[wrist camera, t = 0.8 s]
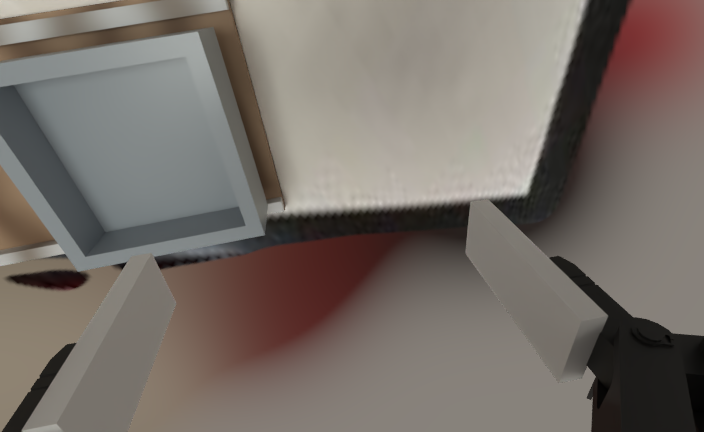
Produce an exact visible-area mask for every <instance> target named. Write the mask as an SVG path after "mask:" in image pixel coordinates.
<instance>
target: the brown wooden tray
mask: <svg viewBox="0 0 704 432" xmlns="http://www.w3.org/2000/svg"><path fill="white" fill-rule="evenodd" d="M209 27H214V30H215V34H216V37H217V40H218V43H219V47H220V50H221V53H222V56H223V60H224V63H225V66H226V70H227V73H228V76H229V79H230V83H231V86H232V89H233V92H234V96H235V99H236V102H237V106H238V109H239V112H240V115H241V119H242V122H243V125H244V128H245V132H246V135H247V138H248V142H249V145H250V148H251V151H252V155H253V158H254V161H255V164H256V168H257V171H258V174H259V178H260V181H261V184H262V187H263V191H264V194H265V197H266V201H267V204H268V210H267V215H268V214H273V213H279V212H284V210H285V203H284V199H283V195H282V192H281V188H280V184H279V181H278V177H277V174H276V170H275V166H274V163H273V159H272V155H271V152H270V148H269V144H268V141H267V137H266V134H265V130H264V126H263V123H262V119H261V115H260V112H259V108H258V104H257V101H256V97H255V93H254V90H253V86H252V83H251V79H250V75H249V72H248V68H247V64H246V61H245V57H244V53H243V50H242V46H241V43H240V39H239V35H238V32H237V28H236V24H235V21H234V17H233V13H232V10H231V6H230V2H229V0H122V1H116V2H109V3H103V4H96V5H90V6H83V7H77V8H70V9H64V10H57V11H51V12H44V13H38V14H31V15H25V16H18V17H12V18H5V19H0V61H3V60H9V59H16V58H22V57H28V56H34V55H41V54H47V53H53V52H59V51H66V50H72V49H78V48H84V47H91V46H97V45H103V44H109V43H116V42H122V41H128V40H134V39H140V38H147V37H153V36H159V35H165V34H172V33H178V32H184V31H190V30H197V29H203V28H209ZM60 254H65V253H64V251H63V250H62V249H61V247H60V246H59V245H58V243H57V242H56V240H55V239H54V238H53V236H52V235H51V234H50V232H49V231H48V229H47V228H46V227H45V225H44V224H43V223H42V221H41V220H40V219H39V217H38V216H37V214H36V213H35V212H34V210H33V209H32V208H31V206H30V205H29V203H28V202H27V201H26V199H25V198H24V197H23V195H22V194H21V193H20V191H19V190H18V188H17V187H16V186H15V184H14V183H13V182H12V180H11V179H10V177H9V176H8V175H7V173H6V172H5V171H4V169H3V168H2V167H1V165H0V266H3V265H8V264H13V263H18V262H24V261H28V260H34V259H39V258H44V257H50V256H55V255H60Z"/></svg>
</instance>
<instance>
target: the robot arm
mask: <svg viewBox="0 0 704 432" xmlns="http://www.w3.org/2000/svg"><path fill="white" fill-rule="evenodd" d="M465 253H466V255H467V256H468V258H469V259H470V260H471V262H472V263H473V264H474V266H475V267H476V269H477V270H478V271H479V273H480V274H481V276H482V277H483V278H484V280H485V281H486V283H487V284H488V285H489V287H490V288H491V290H492V291H493V292H494V294H495V295H496V296H497V298H498V299H499V301H500V302H501V304H502V305H503V306H504V308H505V309H506V311H507V312H508V313H509V315H510V316H511V317H512V319H513V320H514V322H515V323H516V324H517V326H518V327H519V329H520V330H521V331H522V333H523V334H524V335H525V337H526V339H527V340H528V341H529V343H530V344H531V346H532V347H533V348H534V350H535V351H536V352H537V354H538V355H539V357H540V358H541V359H542V361H543V362H544V364H545V365H546V366H547V368H548V369H549V370H550V372H551V373H552V375H553V376H554V378H555V379H556V380H557V382H558V383H563V382H567V381H572V380H577V379H581V378H582V377H583V375H584V372H585V370H586V368H587V366H588V367H589V369H590V370H591V371H592V372H593V373H594V374H595V376H596V378H595V380H594V382H593V384H592V387H591V389H590V391H589V393H588V396H587V399H590V400H591V399H592V397H593V405H592V408H593V409H592V430H591V432H704V336H696V335H684V334H673V333H671V332H670V331H669V330H668V329H666V328H664V327H663V326H661V325H659V324H658V323H655V322H652V321H650V320H647V319H642V318H634V317H632V316H631V315H630V314H628V312H627V311H625V310H624V309H623V308H622V307H621V306H620V305H619V304H618V303H617V302H615V301H614V300H613V299H612V298H611V297H610V296H609V295H608V294H607V293H606V292H604V291H603V290H602V289H601V288H600V287H599V286H598V285H595V283H594V282H593V281H592V280H591V279H590V278H589V277H586V275H585V274H584V273H583V272H582V271H581V270H580V269H579V268H578V267H577V266H576V265H574V264H573V263H571V262H569V261H567V260H565V259H563V258H562V257H559V256H556V257H550V258H548V257H547V256H546V255H545V254H544V253H543V252H542V251H541V250H540V249H539V248H538V247H537V246H536V245H534V243H532V241H531V240H530V239H528V238H527V237H526V236H525V235H524V234H523V233H522V232H521V231H520V230H519V229H518V228H517V227H516V226H515V225H514V224H513V223H512V222H511V221H510V220H509V219H508V218H507V217H506V216H505V215H504V214H503V213H502V212H501V211H500V210H499V209H497V208H496V207H495V206H494V205H493V204H492V203H491V202H490V201H489V200H488V199H485V200H479V201H473V202H471V203H470V213H469V222H468V232H467V243H466V252H465ZM175 305H176V302H175V300H174V298H173V296H172V294H171V292H170V290H169V288H168V285H167V283H166V281H165V279H164V277H163V275H162V273H161V271H160V269H159V267H158V265H157V263H156V261H155V259H154V257H153V255H152V253H149V254H142V255H136V256H131V258H130V259H129V261H128V262H127V264H126V265H125V267H124V269H123V270H122V272H121V273H120V275H119V277H118V278H117V280H116V281H115V283H114V285H113V286H112V288H111V289H110V291H109V292H108V294H107V296H106V297H105V299H104V300H103V302H102V304H101V305H100V307H99V308H98V310H97V311H96V313H95V315H94V316H93V318H92V319H91V321H90V323H89V324H88V326H87V327H86V329H85V331H84V332H83V334H82V335H81V337H80V338H79V340H78V342H77V343H74V344H67V345H66V346H65V347H64V348H62V349H61V350H60V351H59V352H58V353H57V354H56V355H55V356H54V357H53V358H52V359H51V360H50V361H49V363H48V364H47V366H46V367H45V369H44V370H43V371H42V373H41V375H40V378H39V379H37V381H36V382H35V383H34V385H33V386H32V388H31V392H28V394H27V395H26V397H25V398H24V400H23V401H22V403H21V404H20V406H19V407H18V409H17V410H16V412H15V413H14V415H13V416H12V418H11V419H10V420H9V422H8V423H7V425H6V426H5V428H4V429H3V431H2V432H128V429H129V427H130V424H131V421H132V419H133V416H134V414H135V411H136V408H137V406H138V403H139V400H140V398H141V395H142V392H143V390H144V387H145V384H146V382H147V379H148V376H149V374H150V371H151V369H152V366H153V363H154V361H155V358H156V356H157V353H158V350H159V347H160V345H161V342H162V340H163V337H164V334H165V332H166V329H167V326H168V324H169V321H170V319H171V316H172V313H173V311H174V308H175Z"/></svg>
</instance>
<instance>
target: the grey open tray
mask: <svg viewBox="0 0 704 432" xmlns="http://www.w3.org/2000/svg"><path fill="white" fill-rule="evenodd" d="M0 165H1V167H2V168H3V169H4V171H5V172H6V173H7V175H8V176H9V177H10V179H11V180H12V182H13V183H14V184H15V186H16V187H17V188H18V190H19V191H20V193H21V194H22V195H23V197H24V198H25V199H26V201H27V202H28V203H29V205H30V206H31V208H32V209H33V210H34V212H35V213H36V214H37V216H38V217H39V219H40V220H41V221H42V223H43V224H44V225H45V227H46V228H47V229H48V231H49V232H50V234H51V235H52V236H53V238H54V239H55V240H56V242H57V243H58V245H59V246H60V247H61V249H62V250H63V251H64V253H65V254H66V255H67V257H68V258H69V260H70V261H71V262H72V264H73V265H74V266H75V268H76V269H77V271H83V270H88V269H93V268H98V267H104V266H109V265H114V264H119V263H124V262H128V261H129V259H130V258H131V256H136V255H142V254H149V253H152V255H153V257H155V256H160V255H165V254H170V253H175V252H180V251H185V250H191V249H196V248H201V247H206V246H211V245H216V244H221V243H226V242H232V241H237V240H242V239H247V238H252V237H257V236H262V235H265V228H266V219H267V210H268V204H267V201H266V197H265V194H264V191H263V187H262V184H261V181H260V178H259V174H258V171H257V168H256V164H255V161H254V158H253V155H252V151H251V148H250V145H249V142H248V138H247V135H246V132H245V128H244V125H243V122H242V119H241V115H240V112H239V109H238V106H237V102H236V99H235V96H234V92H233V89H232V86H231V83H230V79H229V76H228V73H227V70H226V66H225V63H224V60H223V56H222V53H221V50H220V47H219V43H218V40H217V37H216V34H215V30H214V27H209V28H203V29H197V30H190V31H184V32H178V33H172V34H165V35H159V36H153V37H147V38H140V39H134V40H128V41H122V42H116V43H109V44H103V45H97V46H91V47H84V48H78V49H72V50H66V51H59V52H53V53H47V54H41V55H34V56H28V57H22V58H16V59H9V60H3V61H0Z"/></svg>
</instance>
